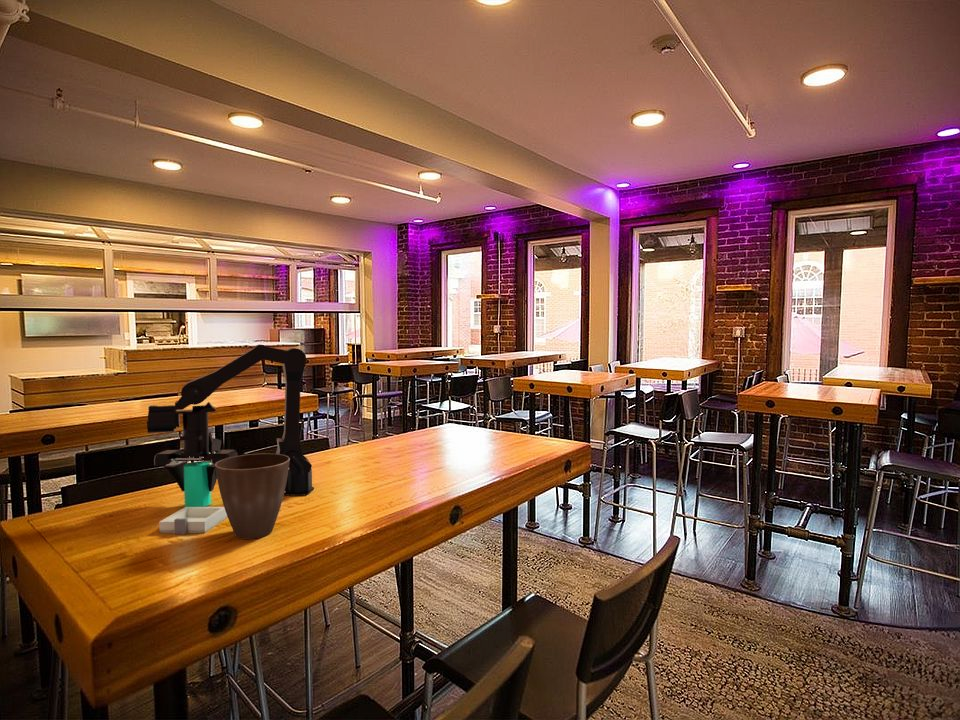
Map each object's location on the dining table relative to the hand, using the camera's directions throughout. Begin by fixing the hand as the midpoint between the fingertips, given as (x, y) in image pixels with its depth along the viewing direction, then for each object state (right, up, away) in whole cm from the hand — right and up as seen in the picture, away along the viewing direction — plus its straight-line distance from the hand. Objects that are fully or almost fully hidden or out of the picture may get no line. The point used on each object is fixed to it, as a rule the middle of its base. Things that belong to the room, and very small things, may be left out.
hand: (197, 490), depth 134 cm
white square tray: (+7, -4, -14) cm, 16 cm away
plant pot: (+23, -5, -19) cm, 30 cm away
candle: (0, -4, 0) cm, 4 cm away
